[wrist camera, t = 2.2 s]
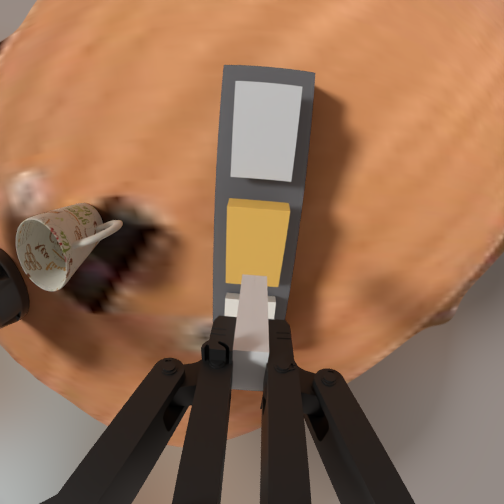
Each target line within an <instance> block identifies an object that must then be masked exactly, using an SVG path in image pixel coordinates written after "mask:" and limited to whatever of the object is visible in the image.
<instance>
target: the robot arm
mask: <svg viewBox="0 0 504 504" xmlns="http://www.w3.org/2000/svg"><path fill="white" fill-rule="evenodd" d="M28 309H29V298H28V293H27V289H26V286H25V284H24V281H23V279H22V277H21V275H20V273H19V271H18V269H17V267H16V266H15V264H14V263H13V261H12V260H11V259H10V258H9V256H8V255H7V254H6V253H5V252H4V251H2V250H1V249H0V329H1V328H3V327H5V326H8V325H10V324H12V323H15V322H17V321H19V320H20V319H21V318H22V317H23V316H24V315H25V314H26V313H27V312H28ZM201 353H202V360H200V361H198V362H196V363H192V364H184V365H183V364H182V362H181V361H179V360H177V359H175V358H164V359H162V360H160V361H158V362H157V363H156V364H155V366H154V367H153V368H152V369H151V371H150V372H149V373H148V375H147V376H146V377H145V379H144V380H143V381H142V383H141V384H140V385H139V386H138V388H137V389H136V390H135V392H134V393H133V394H132V396H131V397H130V398H129V400H128V401H127V402H126V403H125V405H124V406H123V407H122V409H121V410H120V411H119V413H118V414H117V415H116V417H115V418H114V419H113V421H112V422H111V423H110V425H109V426H108V427H107V429H106V430H105V431H104V433H103V434H102V435H101V436H100V438H99V439H98V440H97V442H96V443H95V444H94V446H93V447H92V448H91V450H90V451H89V452H88V454H87V455H86V456H85V458H84V459H83V460H82V462H81V463H80V464H79V466H78V467H77V469H76V470H75V471H74V473H73V474H72V475H71V476H70V478H69V479H68V480H67V482H66V483H65V484H64V486H63V487H62V489H61V490H60V491H59V493H58V494H57V495H55V496H53V497H51V498H49V499H48V500H46V501H44V502H42V503H40V504H131V503H132V502H133V500H134V499H135V497H136V495H137V494H138V492H139V490H140V488H141V487H142V485H143V484H144V482H145V480H146V479H147V477H148V475H149V474H150V472H151V470H152V469H153V467H154V465H155V464H156V462H157V460H158V459H159V457H160V455H161V453H162V452H163V450H164V448H165V446H166V445H167V443H168V441H169V440H170V438H171V436H172V435H173V433H174V431H175V429H176V428H177V426H178V424H179V422H180V421H181V419H182V417H183V416H184V414H185V412H186V410H187V409H188V407H189V406H190V405H192V408H191V412H190V417H189V422H188V426H187V431H186V436H185V440H184V445H183V451H182V455H181V460H180V465H179V470H178V475H177V480H176V485H175V491H174V496H173V501H172V504H220V502H221V491H222V481H223V471H224V461H225V450H226V441H227V431H228V422H229V412H230V402H231V389H238V390H251V391H263V397H262V403H261V408H260V409H262V428H261V429H262V431H261V479H260V480H261V481H260V483H261V484H260V504H311V493H310V480H309V468H308V458H307V457H308V456H307V446H306V437H305V425H304V419H305V421H306V424H307V426H308V428H309V431H310V433H311V435H312V438H313V440H314V443H315V445H316V447H317V450H318V452H319V454H320V457H321V459H322V462H323V464H324V466H325V469H326V471H327V473H328V476H329V478H330V480H331V483H332V485H333V487H334V489H335V492H336V494H337V496H338V499H339V501H340V503H341V504H415V503H414V501H413V499H412V498H411V495H410V494H409V492H408V490H407V488H406V486H405V485H404V483H403V481H402V479H401V477H400V476H399V474H398V472H397V470H396V468H395V467H394V465H393V463H392V461H391V460H390V458H389V456H388V454H387V452H386V451H385V449H384V447H383V445H382V444H381V442H380V441H379V438H378V437H377V435H376V433H375V432H374V430H373V428H372V426H371V424H370V423H369V421H368V419H367V418H366V416H365V414H364V412H363V411H362V409H361V407H360V405H359V404H358V402H357V400H356V399H355V397H354V395H353V394H352V392H351V390H350V388H349V387H348V385H347V383H346V382H345V380H344V378H343V376H342V375H341V374H340V373H339V372H337V371H335V370H333V369H322V370H319V371H318V372H317V373H316V374H315V373H311V372H308V371H305V370H303V369H301V368H299V367H298V366H297V364H296V363H295V361H294V355H293V347H292V340H291V331H290V326H289V324H288V323H287V322H286V320H279V319H268V293H267V276H257V275H244V274H242V281H241V289H240V296H239V304H238V312H237V317H231V316H220V315H219V316H218V317H217V318H216V319H215V320H214V322H213V326H212V330H211V335H210V339H209V341H207V342H205V343H204V344H203V345H202V347H201Z"/></svg>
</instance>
